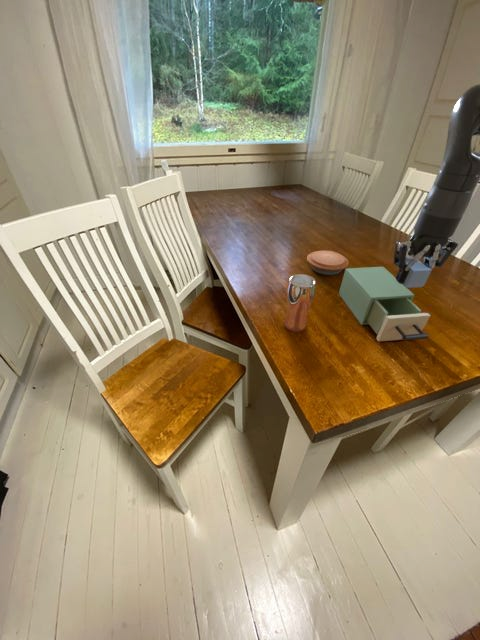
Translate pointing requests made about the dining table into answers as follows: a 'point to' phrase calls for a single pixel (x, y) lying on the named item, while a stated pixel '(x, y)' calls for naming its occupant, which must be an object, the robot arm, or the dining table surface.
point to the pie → (327, 262)
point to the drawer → (397, 320)
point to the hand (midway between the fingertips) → (409, 281)
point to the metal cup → (299, 301)
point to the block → (417, 275)
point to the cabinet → (369, 289)
